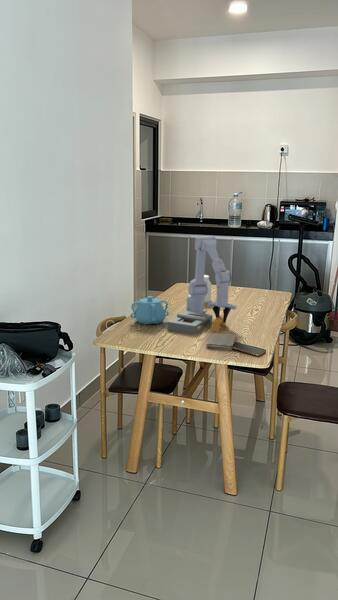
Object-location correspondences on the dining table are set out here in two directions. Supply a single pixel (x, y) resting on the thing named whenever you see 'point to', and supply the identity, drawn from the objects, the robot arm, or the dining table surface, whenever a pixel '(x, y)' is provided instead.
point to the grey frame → (188, 327)
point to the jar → (208, 295)
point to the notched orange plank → (218, 323)
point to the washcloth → (221, 341)
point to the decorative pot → (149, 311)
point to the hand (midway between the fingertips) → (221, 321)
